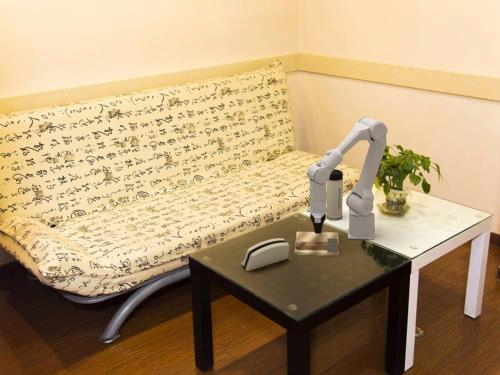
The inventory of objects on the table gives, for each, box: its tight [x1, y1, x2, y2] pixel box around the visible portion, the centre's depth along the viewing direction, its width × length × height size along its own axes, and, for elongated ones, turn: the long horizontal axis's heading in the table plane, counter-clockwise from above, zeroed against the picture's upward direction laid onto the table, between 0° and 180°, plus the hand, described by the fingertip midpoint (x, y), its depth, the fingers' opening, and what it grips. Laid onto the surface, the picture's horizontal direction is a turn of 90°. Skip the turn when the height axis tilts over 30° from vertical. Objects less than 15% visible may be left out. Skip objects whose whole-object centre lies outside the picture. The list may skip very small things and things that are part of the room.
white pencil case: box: [240, 237, 290, 272], centre depth 199 cm, size 17×5×10 cm, turn 121°
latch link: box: [294, 241, 340, 251], centre depth 207 cm, size 15×4×2 cm, turn 84°
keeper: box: [327, 238, 338, 253], centre depth 206 cm, size 4×5×3 cm
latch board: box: [293, 231, 340, 257], centre depth 212 cm, size 16×17×1 cm
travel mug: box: [326, 168, 344, 221], centre depth 231 cm, size 6×7×20 cm
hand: (318, 233), depth 211 cm, fingers closed
